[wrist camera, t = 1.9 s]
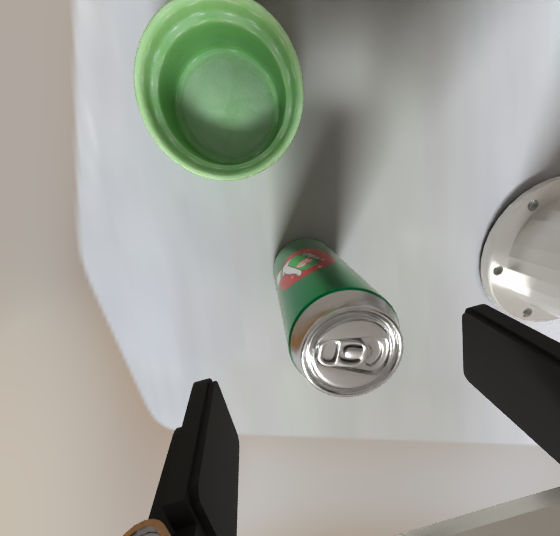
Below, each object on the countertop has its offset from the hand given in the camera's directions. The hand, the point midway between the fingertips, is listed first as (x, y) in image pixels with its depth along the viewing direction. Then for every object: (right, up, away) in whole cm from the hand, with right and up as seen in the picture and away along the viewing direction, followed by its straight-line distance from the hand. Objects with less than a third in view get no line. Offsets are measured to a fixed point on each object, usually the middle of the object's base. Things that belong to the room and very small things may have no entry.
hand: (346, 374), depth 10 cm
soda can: (-1, +4, +13) cm, 13 cm away
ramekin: (-6, +15, +9) cm, 18 cm away
